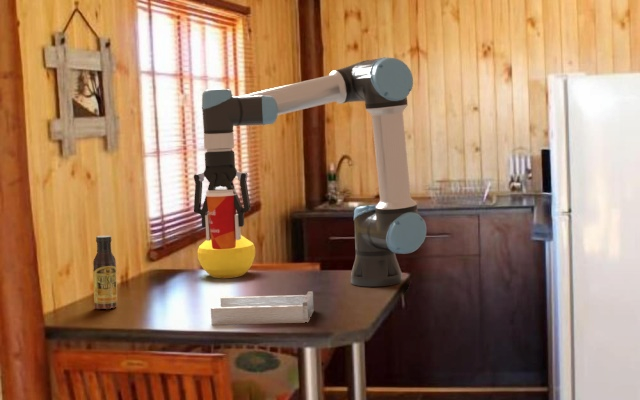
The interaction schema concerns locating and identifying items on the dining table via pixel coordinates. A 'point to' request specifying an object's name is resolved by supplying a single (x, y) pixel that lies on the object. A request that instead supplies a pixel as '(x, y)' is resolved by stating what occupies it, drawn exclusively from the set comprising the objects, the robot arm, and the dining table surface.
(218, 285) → the dining table surface
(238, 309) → the channel
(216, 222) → the coffee cup
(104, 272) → the sauce bottle
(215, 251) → the vase
